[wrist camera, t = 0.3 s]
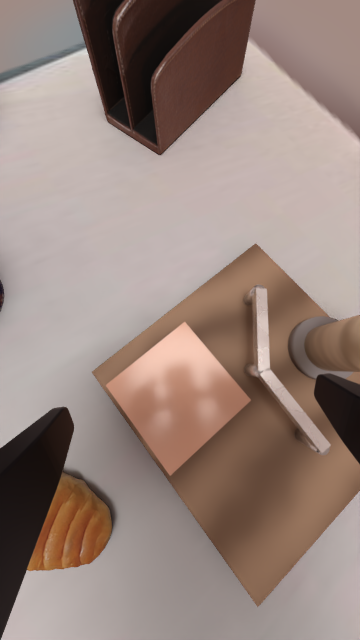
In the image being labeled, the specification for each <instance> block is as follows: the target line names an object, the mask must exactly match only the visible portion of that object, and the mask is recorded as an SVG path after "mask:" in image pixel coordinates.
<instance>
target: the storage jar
mask: <svg viewBox="0 0 360 640" xmlns="http://www.w3.org/2000/svg"><path fill="white" fill-rule="evenodd" d="M3 301H4V290H3V285H2V283H1V281H0V311H1V309H2V305H3Z"/></svg>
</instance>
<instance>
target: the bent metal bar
mask: <svg viewBox="0 0 360 640" xmlns="http://www.w3.org/2000/svg"><path fill="white" fill-rule="evenodd" d="M243 301H244V303H245V304H246V305H252V304H253V344H254V364H247V365H246V366H245V368H244V372H245V373H246V375H248V376H253V377H258V378H259V379H260V380H261V382H262V383H263V384H264V386H265V387H266V388H267V389H268V391H269V392H270V393H271V394H272V396H273V397H274V398H275V400H276V401H277V402H278V403H279V405H280V406H281V407H282V409H283V410H284V411H285V412H286V414H287V415H288V416H289V417H290V419H291V420H292V421H293V423H294V424H295V425H296V426H297V429H296V430H295V432H294V436H295V438H296V440H298V441H299V442H301V443H302V444H304V445H306V446H307V447H309V448H310V449H312V450H314V451H315V452H317V453H318V454H320V455H326V454H328V452H329V450H330V446H331V444H330V443H329V442H328V441H327V439H326V438H325V437H324V436H323V434H322V433H321V432H320V431H319V429H318V428H317V427H316V426H315V424H314V423H313V422H312V421H311V419H310V418H309V417H308V416H307V414H306V413H305V412H304V411H303V409H302V408H301V407H300V406H299V404H298V403H297V402H296V401H295V400H294V398H293V397H292V396H291V395H290V393H289V392H288V391H287V390H286V388H285V387H284V386H283V385H282V383H281V382H280V381H279V380H278V378H277V377H276V376H275V375H274V373H273V372H272V371H271V370H270V355H269V330H268V305H267V289H265V287H264V286H262V285H260V284H258V285H255V286H254V287H253V288H252V289H251V290H250V291H249V292H248V294H247V295H246V296H245V297H244V298H243Z"/></svg>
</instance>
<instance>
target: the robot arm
mask: <svg viewBox="0 0 360 640" xmlns="http://www.w3.org/2000/svg"><path fill="white" fill-rule="evenodd" d="M314 397H315V399H316V401H317V402H318V404H319V406H320V407H321V409H322V410H323V412H324V414H325V415H326V417H327V418H328V420H329V421H330V423H331V425H332V426H333V428H334V429H335V431H336V433H337V434H338V436H339V437H340V439H341V440H342V441H343V443H344V444H345V446H346V447H347V448H348V450H349V451H350V452H351V454H352V455H353V456H354V458H355V459H356V460H357V462H358V463H359V464H360V384H357V383H355V382H352V381H350V380H347V379H344V378H342V377H339V376H337V375H334V374H331V373H325V374H319V375H318V376H317V377H316V382H315V387H314ZM73 431H74V424H73V421H72V418H71V415H70V413H69V410H68V408H66V407H58V408H53V409H52V410H50V411H49V412H48V413H46V414H45V415H44V416H42V417H41V418H40V419H38V420H37V421H36V422H35V423H33V424H32V425H31V426H29V427H28V428H27V429H25V430H24V431H23V432H21V433H20V434H19V435H17V436H16V437H15V438H14V439H12V440H11V441H10V442H8V443H7V444H6V445H4V446H3V447H2V448H0V640H1V638H2V635H3V632H4V630H5V627H6V624H7V621H8V619H9V616H10V613H11V611H12V608H13V605H14V603H15V600H16V597H17V595H18V592H19V589H20V587H21V584H22V581H23V578H24V576H25V573H26V570H27V568H28V565H29V562H30V560H31V557H32V554H33V552H34V549H35V546H36V544H37V541H38V538H39V536H40V533H41V530H42V527H43V525H44V522H45V519H46V517H47V514H48V511H49V509H50V506H51V503H52V501H53V498H54V495H55V493H56V490H57V487H58V484H59V481H60V478H61V475H62V472H63V468H64V464H65V461H66V457H67V453H68V450H69V446H70V442H71V439H72V435H73Z"/></svg>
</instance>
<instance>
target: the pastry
mask: <svg viewBox="0 0 360 640" xmlns="http://www.w3.org/2000/svg"><path fill="white" fill-rule="evenodd" d="M111 532H112V521H111V515H110V510H109V508H108V507H107V505H106V504H105V503H104V502H103V501H101V500H100V498H98V497H97V496H96V495H95V494H94V492H93V491H91V490H90V489H89V487H88V486H87V484H86V483H85V482H84V481H83V480H82V479H76V478H74V477H73V476H70V475H68V474H66V473H64V472H62V475H61V478H60V481H59V484H58V487H57V490H56V493H55V495H54V498H53V501H52V503H51V506H50V509H49V511H48V514H47V517H46V519H45V522H44V525H43V527H42V530H41V533H40V536H39V538H38V541H37V544H36V546H35V549H34V552H33V554H32V557H31V560H30V562H29V565H28V568H27V570H29V571H33V570H37V571H38V570H53V569H64V568H69V567H78V566H80V565H84V564H90V563H91V562H92V561H93V560H94V559H95V558H96V557H97V556H99V555H100V553H101V552H102V551H103V550H104V548H105V546H106V545H107V543H108V541H109V538H110V536H111Z"/></svg>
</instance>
